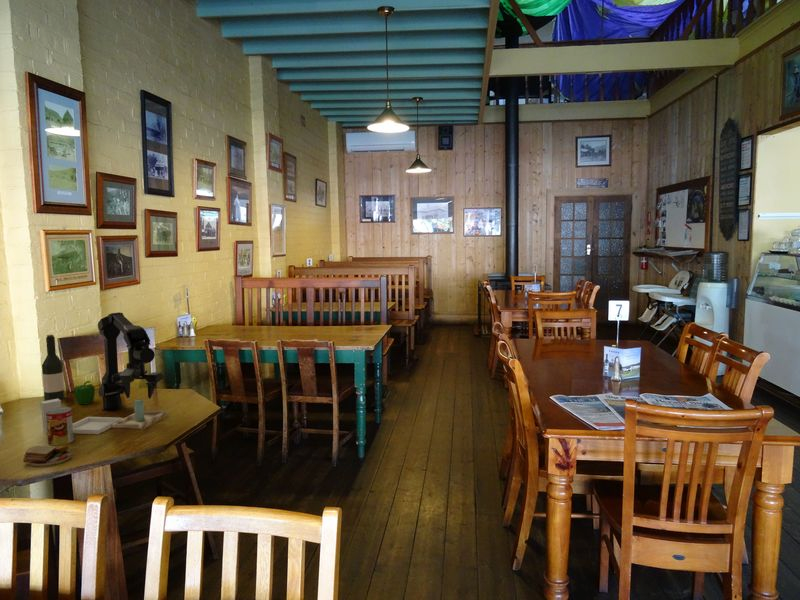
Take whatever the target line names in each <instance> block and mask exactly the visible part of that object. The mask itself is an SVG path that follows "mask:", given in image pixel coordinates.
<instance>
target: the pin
mask: <svg viewBox="0 0 800 600" xmlns="http://www.w3.org/2000/svg"><path fill="white" fill-rule="evenodd" d="M144 404H145V403H144V400H143V399H137V400H134V401H133V407H134V409H133V410H134V413H135V421H136V422H141V421H144V420H145V417H144V411H145V405H144Z"/></svg>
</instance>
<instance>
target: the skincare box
mask: <svg viewBox="0 0 800 600" xmlns="http://www.w3.org/2000/svg"><path fill="white" fill-rule="evenodd" d="M60 407H62V400H59V399H53V400H48V401H45V400H44V401H43V400H42V401H40V409H41V410H40V411H41V418H42V419H41V421H42V430H43V432H44V433H45V434H48V433H47V420H46V411H48V410H50V409H54V408H60Z"/></svg>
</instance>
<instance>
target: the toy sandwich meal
mask: <svg viewBox="0 0 800 600" xmlns="http://www.w3.org/2000/svg"><path fill="white" fill-rule="evenodd" d="M69 447H70V444H69V443H67V444H66V445H63V446H49V445H44V446H43V445H33V446H31V447H29V448H27V449H26V450H25V452H24V453H25V454H24V455H23V459H22V461H23V463H26V464H27V463H28V464H29V465H31V466H32V465H33V466H32V467H36V466H38V467H39V468H42V467H43V468H45V467H52V466H55V464H56V465H60V464H62V462H63V463H65V462H67V461H69V460H70V458H71V457H72V456H73V452H72V451H69V450H68V449H69ZM66 460H67V461H66ZM59 463H60V464H59ZM51 465H52V466H51ZM44 466H45V467H44ZM38 467H37V468H38Z"/></svg>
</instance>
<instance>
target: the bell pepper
mask: <svg viewBox="0 0 800 600" xmlns="http://www.w3.org/2000/svg"><path fill="white" fill-rule="evenodd" d="M88 383H89V384H88ZM90 383H91V380H86V381H84V382H83V384H80V385H77V386H75V387H74V389H73V395H74V399H75V402H76V403H77V404H79V405H87V404H90V403H93V402H94V400H95V394H96V387H95V386H94V385H93V384H92V383H91V384H90Z"/></svg>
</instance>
